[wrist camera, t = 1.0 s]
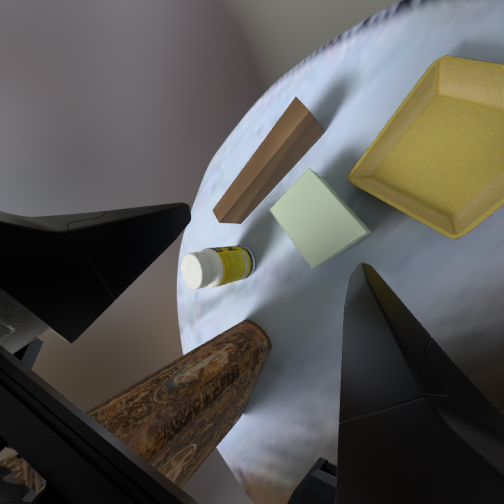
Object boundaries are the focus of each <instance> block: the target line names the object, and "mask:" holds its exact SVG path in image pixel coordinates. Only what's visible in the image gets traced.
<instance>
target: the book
mask: <svg viewBox="0 0 504 504" xmlns="http://www.w3.org/2000/svg"><path fill="white" fill-rule="evenodd" d="M270 349H271V342H270V340H269V338H268V336H267V334H266V333H265V332H264V331H263V330H262V329H261V328H260V327H259V326H258V325H257V324H255V323H254V322H252V321H249V320H244V321H242V322H240V323H239V324H237V325H235V326H233V327H232V328H230V329H228V330H226V331H225V332H223V333H221V334H220V335H218V336H216V337H214V338H213V339H211V340H209V341H207V342H206V343H204V344H202V345H201V346H199V347H197V348H195V349H194V350H192V351H190V352H189V353H187V354H185V355H183V356H182V357H180V358H178V359H177V360H175V361H173V362H171V363H170V364H168V365H166V366H164V367H163V368H161V369H159V370H158V371H156V372H154V373H152V374H151V375H149V376H147V377H145V378H144V379H142V380H140V381H139V382H137V383H135V384H133V385H132V386H130V387H128V388H126V389H125V390H123V391H121V392H119V393H118V394H116V395H114V396H113V397H111V398H109V399H107V400H106V401H104V402H102V403H100V404H99V405H97V406H95V407H94V408H92V409H90V410H89V411H87V412H85V413H87V414H88V415H89V416H90V417H92V418H93V419H94V420H95V421H97V422H98V423H99V424H100V425H102V426H103V427H104V428H105V429H107V430H108V431H109V432H110V433H112V434H113V435H114V436H115V437H117V438H118V439H119V440H120V441H122V442H123V443H124V444H125V445H127V446H128V447H129V448H130V449H132V450H133V451H134V452H135V453H137V454H138V455H139V456H140V457H142V458H143V459H144V460H145V461H147V462H148V463H149V464H151V465H152V466H153V467H154V468H156V469H157V470H158V471H159V472H161V473H162V474H163V475H164V476H166V477H167V478H168V479H169V480H171V481H172V482H173V483H174V484H176V485H177V486H178V487H179V488H182V487H183V486H184V485H185V484H186V482H187V481H188V480H189V479H190V477H191V476H192V475H193V474H194V473H195V472H196V470H197V469H198V468H199V467H200V466H201V464H202V463H203V462H204V461H205V460H206V459H207V457H208V456H209V455H210V454H211V452H212V451H213V450H214V449H215V448H216V447H217V445H218V444H219V443H220V442H221V441H222V439H223V438H224V437H225V436H226V435H227V433H228V432H229V431H230V430H231V429H232V427H233V426H234V425H235V424H236V423H237V421H238V420H239V419H240V417H241V416H242V414H243V412H244V409H245V407H246V405H247V403H248V401H249V398H250V396H251V394H252V391H253V389H254V387H255V384H256V382H257V379H258V377H259V375H260V372H261V370H262V368H263V365H264V363H265V361H266V358H267V356H268V354H269V351H270ZM17 454H18V453H17V452H16V453H14V454H12V455H11V456H9V457H7V458H6V459H4V460H2V461H0V466H4V467H8V468H10V469H11V470H12V471H13V473H12V475H13V476H14V478H15V479H16V484H22V485H29V486H30V487H31V488H32V489H33V490H34V491H35V492H36V493H38V492H39V491H40V490H41V488H42V487H43V486H44V485H43V484H42V483H41V482H40V481H41V480H42V477H41V476H40V475H39V474H38V473H34V472H31V471H30V470H29V469H28V467H29V466H30V465H29V464H28V463H27V462H26V461H23V460H19V459H18V458H17V457H16V455H17Z"/></svg>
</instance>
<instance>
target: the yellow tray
mask: <svg viewBox="0 0 504 504" xmlns="http://www.w3.org/2000/svg"><path fill="white" fill-rule="evenodd" d="M348 181H349V182H350V183H351V184H353V185H355V186H356V187H358V188H360V189H362V190H364V191H366V192H367V193H369V194H371V195H373V196H375V197H377V198H379V199H380V200H382V201H384V202H386V203H388V204H389V205H391V206H393V207H395V208H397V209H398V210H400V211H402V212H404V213H406V214H408V215H409V216H411V217H413V218H414V219H416V220H418V221H420V222H421V223H423V224H425V225H427V226H429V227H430V228H432V229H434V230H436V231H438V232H439V233H441V234H443V235H445V236H446V237H448V238H451V239H457V238H460V237H462V236H464V235H466V234H467V233H468V232H470V231H471V230H472V229H474V228H475V227H476V226H477V225H478V224H480V223H481V222H482V221H484V220H485V219H486V218H487V217H489V216H490V215H491V214H492V213H494V212H495V211H496V210H498V209H499V208H500V207H501V206H502V205H504V64H499V63H491V62H484V61H479V60H473V59H467V58H461V57H454V56H448V55H447V56H443V57H441V58H438V59H437V60H435V61H434V62H433V63H432V64H431V65H430V66H429V67H428V69H427V70H426V72H425V73H424V74H423V76H422V77H421V78H420V80H419V81H418V82H417V84H416V85H415V86H414V88H413V89H412V90H411V92H410V93H409V94H408V95H407V97H406V98H405V100H404V101H403V102H402V104H401V105H400V106H399V108H398V109H397V111H396V112H395V113H394V114H393V116H392V117H391V119H390V120H389V121H388V122H387V124H386V125H385V127H384V128H383V129H382V131H381V132H380V133H379V134H378V136H377V137H376V139H375V140H374V141H373V142H372V144H371V145H370V147H369V148H368V149H367V151H366V152H365V153H364V154H363V156H362V157H361V159H360V160H359V161H358V162H357V163H356V165H355V166H354V168H353V169H352V170H351V172H350V173H349V175H348Z"/></svg>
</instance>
